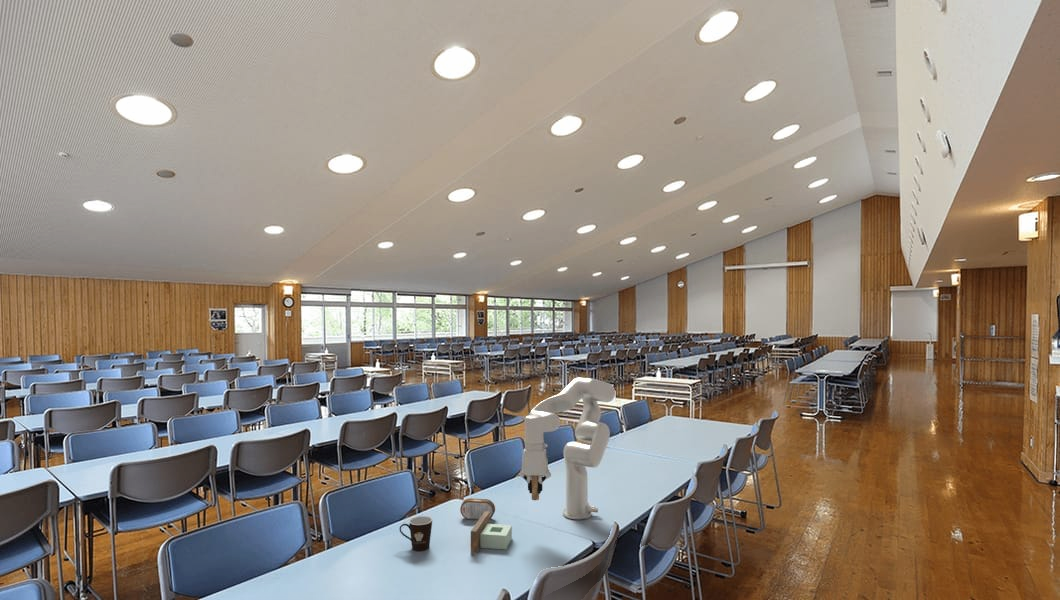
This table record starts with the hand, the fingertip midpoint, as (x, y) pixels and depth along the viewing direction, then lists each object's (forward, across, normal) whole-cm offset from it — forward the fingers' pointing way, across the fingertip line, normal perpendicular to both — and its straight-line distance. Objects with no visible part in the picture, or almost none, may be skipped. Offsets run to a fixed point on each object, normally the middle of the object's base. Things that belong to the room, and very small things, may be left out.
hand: (535, 492), depth 204 cm
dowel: (+3, 0, 0) cm, 3 cm away
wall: (+16, +20, +11) cm, 28 cm away
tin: (+17, +28, -11) cm, 34 cm away
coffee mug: (+16, +42, +19) cm, 49 cm away
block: (+16, +14, +11) cm, 24 cm away
